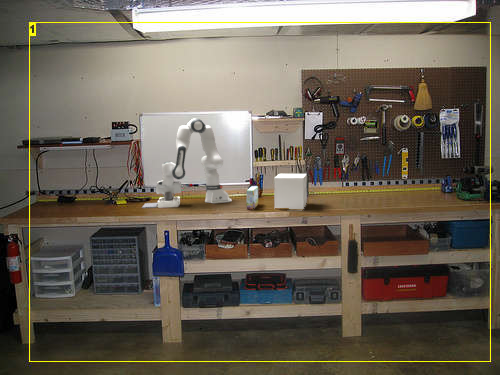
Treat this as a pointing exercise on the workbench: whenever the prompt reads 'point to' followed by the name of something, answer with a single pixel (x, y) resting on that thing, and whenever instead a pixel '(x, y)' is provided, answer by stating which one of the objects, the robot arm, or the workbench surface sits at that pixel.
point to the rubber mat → (150, 205)
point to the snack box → (252, 197)
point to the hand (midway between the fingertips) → (169, 198)
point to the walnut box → (168, 196)
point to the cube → (290, 191)
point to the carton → (168, 202)
